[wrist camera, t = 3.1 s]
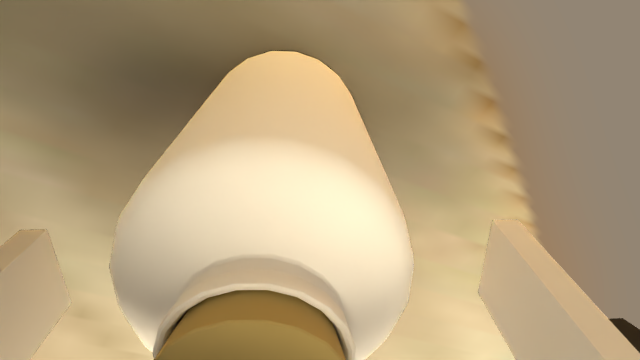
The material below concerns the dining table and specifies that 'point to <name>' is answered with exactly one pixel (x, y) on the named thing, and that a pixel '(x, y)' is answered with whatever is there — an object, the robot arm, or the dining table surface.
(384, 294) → the potion bottle
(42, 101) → the dining table surface
